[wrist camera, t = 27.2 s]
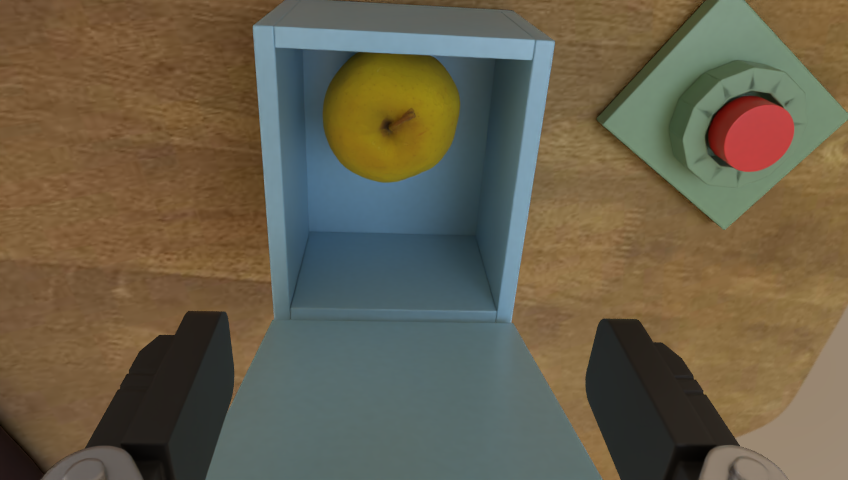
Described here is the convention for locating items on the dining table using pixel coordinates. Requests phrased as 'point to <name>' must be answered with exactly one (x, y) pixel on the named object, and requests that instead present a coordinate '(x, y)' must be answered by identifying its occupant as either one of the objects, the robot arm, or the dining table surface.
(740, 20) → the green button base
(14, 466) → the diary
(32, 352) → the dining table surface
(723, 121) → the button
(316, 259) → the box
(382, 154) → the apple
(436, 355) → the lid
